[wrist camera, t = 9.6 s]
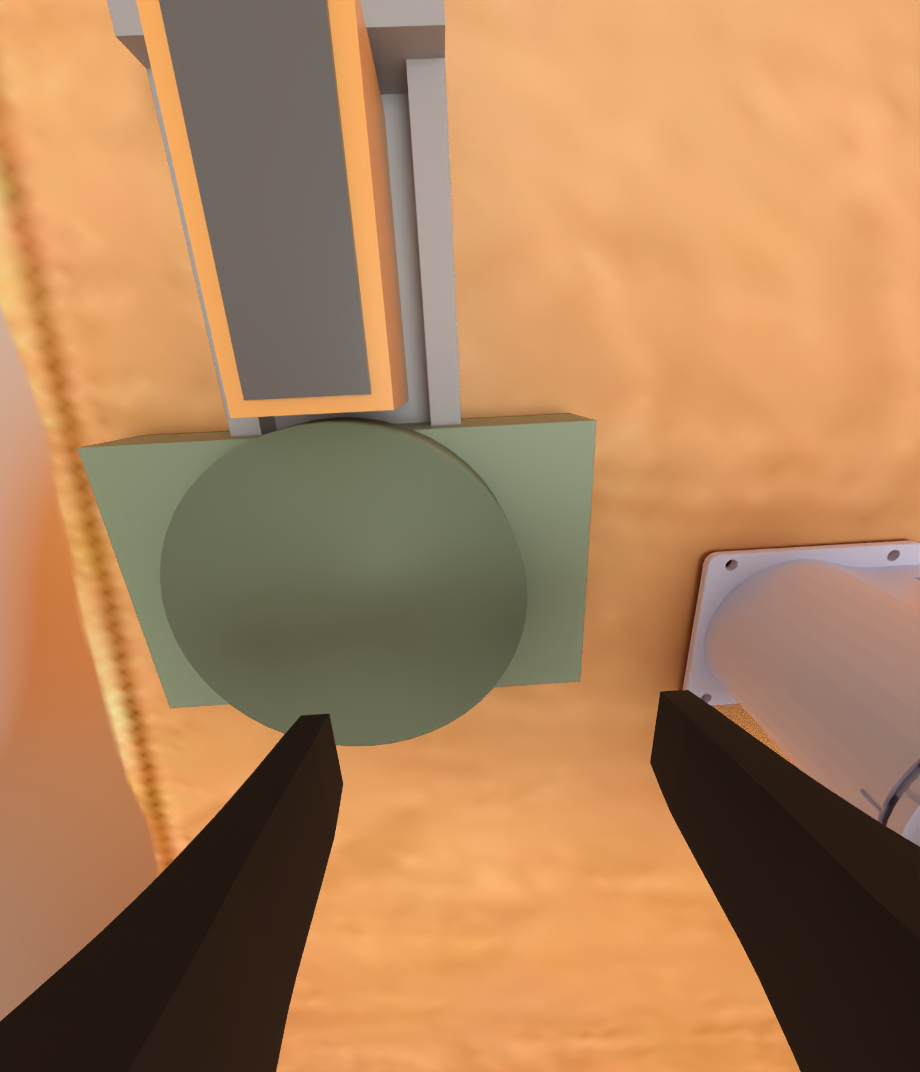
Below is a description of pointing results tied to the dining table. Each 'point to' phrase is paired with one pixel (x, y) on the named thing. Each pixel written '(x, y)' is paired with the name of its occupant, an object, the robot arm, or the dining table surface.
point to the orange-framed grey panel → (284, 198)
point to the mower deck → (361, 497)
